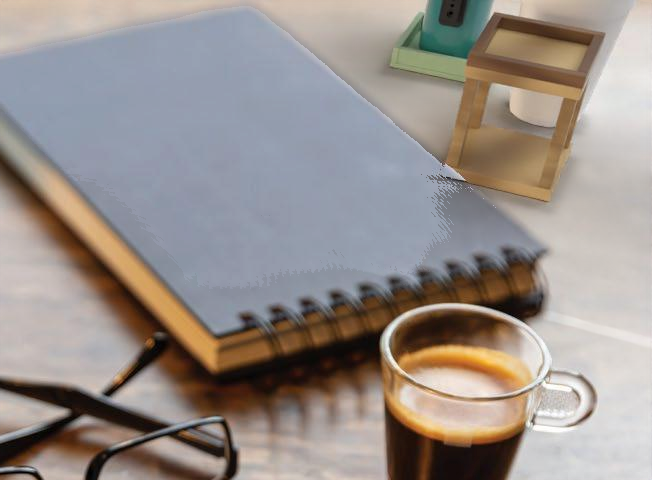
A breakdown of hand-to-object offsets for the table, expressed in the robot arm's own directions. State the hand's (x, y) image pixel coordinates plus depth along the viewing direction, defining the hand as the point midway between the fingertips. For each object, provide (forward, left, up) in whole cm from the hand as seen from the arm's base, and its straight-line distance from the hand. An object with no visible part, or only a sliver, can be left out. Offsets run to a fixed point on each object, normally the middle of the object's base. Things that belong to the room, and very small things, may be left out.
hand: (458, 11), depth 125 cm
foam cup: (-11, +7, -5) cm, 14 cm away
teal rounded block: (0, 0, -4) cm, 4 cm away
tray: (0, 0, -5) cm, 5 cm away
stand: (-10, +18, -5) cm, 21 cm away
